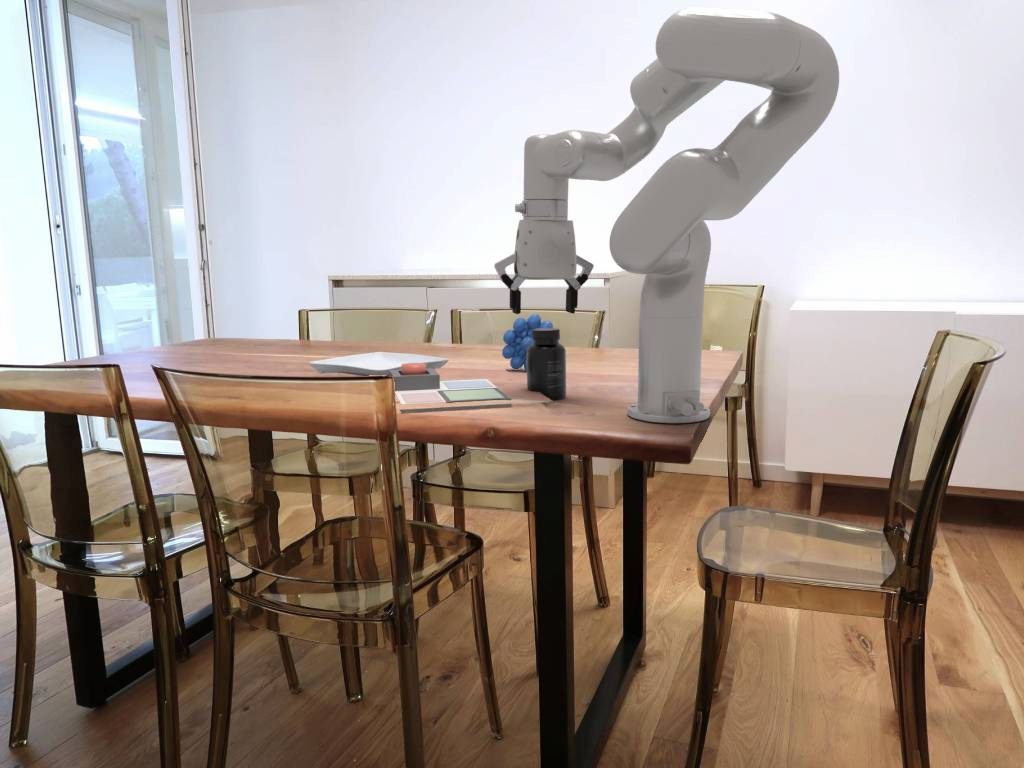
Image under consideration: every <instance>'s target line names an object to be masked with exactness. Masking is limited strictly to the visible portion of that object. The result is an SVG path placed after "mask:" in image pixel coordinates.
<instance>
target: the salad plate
mask: <svg viewBox="0 0 1024 768" xmlns="http://www.w3.org/2000/svg"><path fill="white" fill-rule="evenodd" d="M449 360H450V358H445V357H438V356H433V355H423V354H415V353H414V354H413V353H402V352H400V353H399V352H388V351H387V352H385V351H375V352H368V353H366V352H365V353H360V354H351V355H345V356H338V357H333V358H332V357H331V358H326V359H320V360H315V361H314V360H313V361H310V362H308V365H310V367H311V368H313V369H314V370H315V371H318V372H319V373H322V374H335V373H336V374H338V373H339V374H340V373H345V374H346V373H349V374H355V375H363V376H369V375H388V376H390V375H389V370H401V365H402V364H406V363H424V364H426V368H433V369H441V368H442V367H444V366H445V365H446V364H447V363H448V362H449Z"/></svg>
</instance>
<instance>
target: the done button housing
mask: <svg viewBox="0 0 1024 768" xmlns="http://www.w3.org/2000/svg"><path fill="white" fill-rule="evenodd" d="M388 376H389V377H390V376H393V378H394V382H395V391H409V390H429V389H440V381H441V379H440V377H441V375H440V373H438V371H437V370H435V368H426V374H420V375H402V371H401V370H389V375H388Z"/></svg>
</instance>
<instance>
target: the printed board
mask: <svg viewBox="0 0 1024 768" xmlns="http://www.w3.org/2000/svg"><path fill="white" fill-rule="evenodd" d="M395 393H396V394H395ZM394 394H395V395H396V397H397V399H398V401H399V402H400V404H401V405H417V404H418V405H419V404H421V405H422V404H437V403H438V404H439V403H440V404H441V403H447V404H450V403H461V402H478V401H495V400H496V401H498V400H499V401H500V400H501V401H502V400H507V401H508V400H512V398H511V396H509V395H508V394H507V393H505V392H503V390H501V389H500V388H498V387H497V385H494V384H493V383H492V382H491V381H490V380H488V379H487V378H483V379H482V378H480V379H478V378H477V379H462V380H461V379H459V380H458V379H457V380H440V389H429V390H409V391H395V392H394ZM505 408H509V409H510V408H512V403H498V404H496V403H495V404H482V405H481V404H480V405H464V406H463V405H460V406H445V407H444V406H443V407H442V406H441V407H430V408H429V407H428V408H427V407H426V408H423V407H422V408H409V409H408V408H407V409H404V408H403V409H399V411H400V412H401V414H414V413H415V414H416V413H419V414H420V413H435V412H451V411H453V412H454V411H456V412H457V411H469V410H470V411H471V410H474V411H475V410H489V409H490V410H492V409H505Z"/></svg>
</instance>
